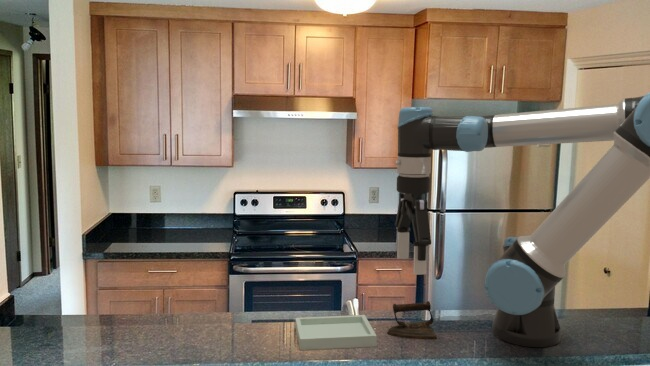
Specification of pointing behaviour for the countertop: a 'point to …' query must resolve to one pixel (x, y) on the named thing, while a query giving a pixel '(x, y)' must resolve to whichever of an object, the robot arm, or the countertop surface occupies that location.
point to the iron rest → (334, 332)
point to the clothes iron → (412, 329)
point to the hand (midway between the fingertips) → (410, 266)
